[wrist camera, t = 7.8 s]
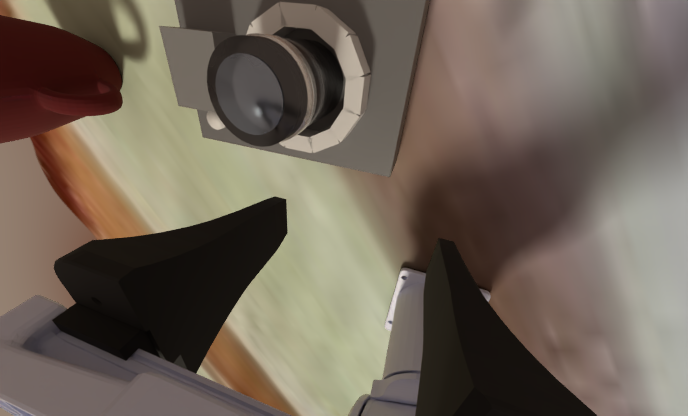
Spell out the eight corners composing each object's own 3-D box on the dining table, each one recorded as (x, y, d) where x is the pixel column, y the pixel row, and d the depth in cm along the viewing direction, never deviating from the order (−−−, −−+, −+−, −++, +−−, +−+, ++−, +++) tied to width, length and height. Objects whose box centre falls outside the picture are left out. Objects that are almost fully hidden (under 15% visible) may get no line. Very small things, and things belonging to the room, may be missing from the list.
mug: (151, 31, 21) (-33, 21, 13) (172, 130, 25) (45, 170, 17) (50, 8, 23) (-167, -13, 15) (86, 105, 27) (-65, 130, 19)
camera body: (396, 161, 20) (384, 190, 16) (227, 127, 23) (182, 144, 19) (431, -6, 15) (426, -25, 11) (205, -20, 18) (136, -40, 14)
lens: (343, 124, 17) (300, 156, 12) (279, 116, 18) (215, 143, 13) (346, 38, 14) (293, 33, 9) (271, 36, 16) (189, 30, 11)
